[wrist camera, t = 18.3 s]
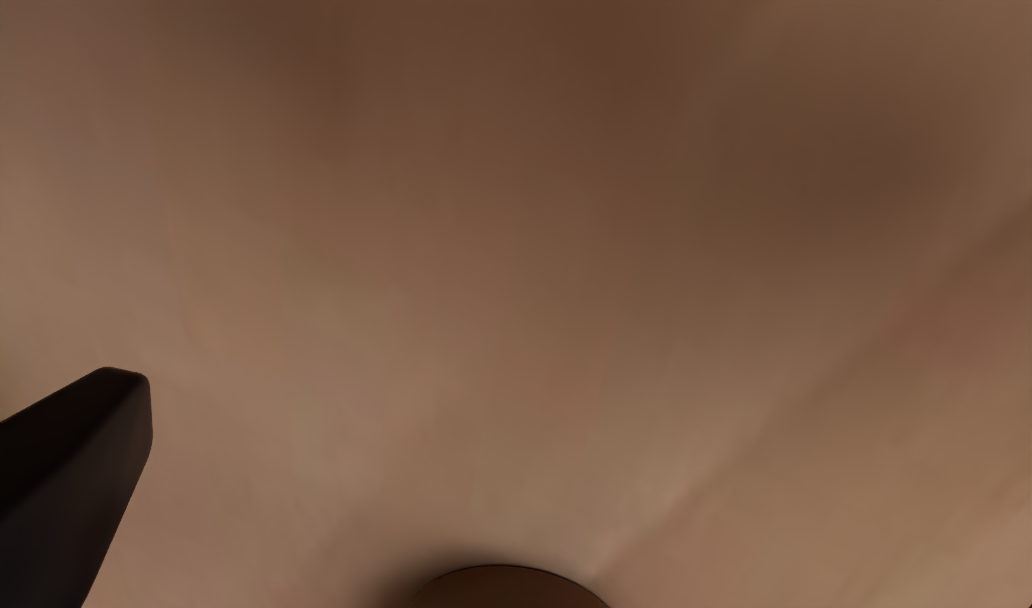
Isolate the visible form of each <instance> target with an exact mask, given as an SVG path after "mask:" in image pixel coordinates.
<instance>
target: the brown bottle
mask: <svg viewBox="0 0 1032 608" xmlns="http://www.w3.org/2000/svg"><path fill="white" fill-rule="evenodd" d="M408 608H608V607H607V606H606V605H605V604H604V603H603V602H601V601H600V600H599V599H598V598H597V597H596V596H594V595H593V594H591V593H590V592H589V591H587V590H585V589H584V588H582V587H580V586H578V585H577V584H575V583H573V582H570V581H568V580H566V579H564V578H561V577H558V576H555V575H552V574H549V573H546V572H542V571H538V570H534V569H528V568H522V567H513V566H482V567H473V568H468V569H463V570H459V571H456V572H453V573H449V574H446V575H444V576H442V577H440V578H438V579H436V580H434V581H432V582H431V583H429V584H428V585H426V586H425V587H424V588H423V589H422V590H421V591H419V592H418V593H417V595H416V596H415V597H414V598H413V600H412V601H411V603H410V605H409V607H408Z"/></svg>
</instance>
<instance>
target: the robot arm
mask: <svg viewBox="0 0 1032 608" xmlns="http://www.w3.org/2000/svg"><path fill="white" fill-rule="evenodd" d="M152 440H153V428H152V411H151V394H150V385H149V381H148V379H147V377H146V376H144V375H142V374H141V373H137V372H132V371H127V370H123V369H118V368H114V367H103V368H99V369H97V370H95V371H93V372H91V373H89V374H87V375H85V376H84V377H82V378H80V379H78V380H76V381H75V382H73V383H71V384H69V385H67V386H65V387H64V388H62V389H60V390H58V391H56V392H54V393H53V394H51V395H49V396H47V397H45V398H43V399H42V400H40V401H38V402H36V403H34V404H32V405H31V406H29V407H27V408H25V409H23V410H21V411H20V412H18V413H16V414H14V415H12V416H11V417H9V418H7V419H5V420H3V421H1V422H0V608H81V607H82V605H83V603H84V601H85V600H86V598H87V596H88V594H89V591H90V589H91V587H92V585H93V583H94V581H95V578H96V576H97V574H98V572H99V569H100V567H101V565H102V563H103V560H104V558H105V556H106V553H107V551H108V549H109V547H110V544H111V542H112V540H113V537H114V535H115V533H116V530H117V528H118V526H119V524H120V521H121V519H122V517H123V514H124V512H125V510H126V508H127V505H128V503H129V501H130V498H131V496H132V494H133V492H134V489H135V487H136V485H137V482H138V480H139V478H140V475H141V473H142V471H143V469H144V466H145V464H146V462H147V459H148V457H149V453H150V450H151V446H152ZM1029 608H1032V604H1031V606H1030V607H1029Z"/></svg>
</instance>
